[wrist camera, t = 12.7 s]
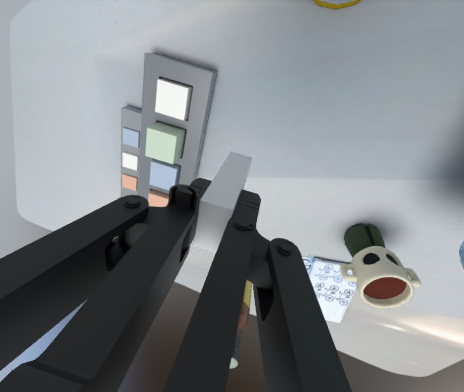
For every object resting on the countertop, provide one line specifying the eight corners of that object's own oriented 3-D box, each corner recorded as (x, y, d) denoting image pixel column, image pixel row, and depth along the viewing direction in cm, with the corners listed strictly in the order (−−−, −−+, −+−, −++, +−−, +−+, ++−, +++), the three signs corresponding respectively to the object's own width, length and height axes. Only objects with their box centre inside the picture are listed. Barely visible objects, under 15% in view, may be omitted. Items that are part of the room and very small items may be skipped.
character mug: (397, 221, 43) (438, 278, 32) (388, 252, 47) (421, 313, 36) (333, 219, 45) (350, 271, 34) (328, 248, 49) (342, 304, 38)
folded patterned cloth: (337, 318, 59) (338, 327, 57) (254, 301, 61) (254, 308, 59) (366, 262, 50) (369, 270, 48) (267, 243, 52) (267, 250, 50)
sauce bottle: (221, 267, 57) (195, 357, 40) (237, 253, 54) (217, 344, 37) (243, 282, 58) (227, 376, 41) (260, 269, 55) (250, 365, 38)
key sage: (185, 129, 39) (176, 136, 36) (181, 155, 41) (173, 164, 38) (158, 121, 39) (147, 127, 36) (156, 147, 42) (145, 155, 38)
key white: (196, 85, 38) (188, 88, 34) (192, 115, 40) (183, 120, 37) (168, 77, 38) (157, 79, 34) (165, 107, 40) (155, 111, 37)
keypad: (217, 71, 36) (212, 72, 34) (183, 244, 55) (179, 253, 52) (129, 45, 37) (117, 44, 34) (125, 225, 55) (117, 233, 53)
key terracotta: (180, 190, 48) (172, 200, 44) (177, 208, 50) (169, 219, 47) (158, 183, 48) (148, 193, 44) (156, 202, 50) (147, 212, 47)
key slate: (184, 160, 44) (176, 169, 41) (181, 182, 47) (173, 191, 43) (161, 153, 45) (151, 161, 41) (158, 175, 47) (149, 184, 44)
